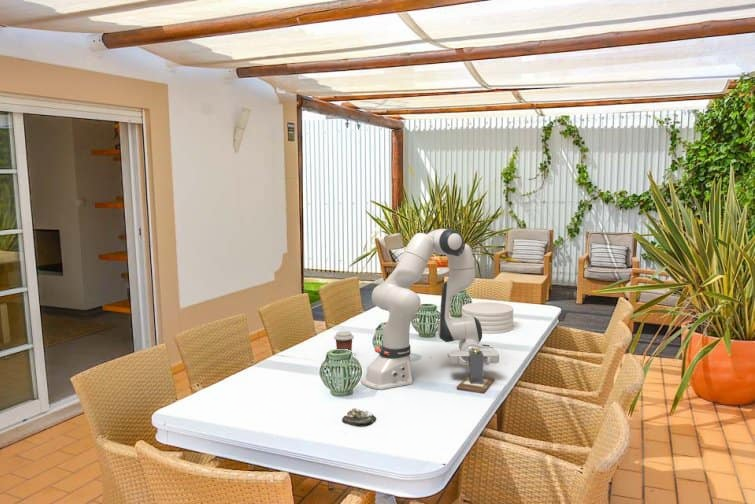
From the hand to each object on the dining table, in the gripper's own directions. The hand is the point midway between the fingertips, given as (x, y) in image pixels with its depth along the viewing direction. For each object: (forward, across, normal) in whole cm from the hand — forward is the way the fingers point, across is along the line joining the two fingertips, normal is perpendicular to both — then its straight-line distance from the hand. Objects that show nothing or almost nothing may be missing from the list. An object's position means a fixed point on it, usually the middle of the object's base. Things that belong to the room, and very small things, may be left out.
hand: (476, 363), depth 238 cm
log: (+35, -45, +10) cm, 57 cm away
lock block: (0, 0, +8) cm, 8 cm away
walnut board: (0, 0, +9) cm, 9 cm away
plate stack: (-92, +18, +10) cm, 95 cm away
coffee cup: (-38, -56, +9) cm, 68 cm away
